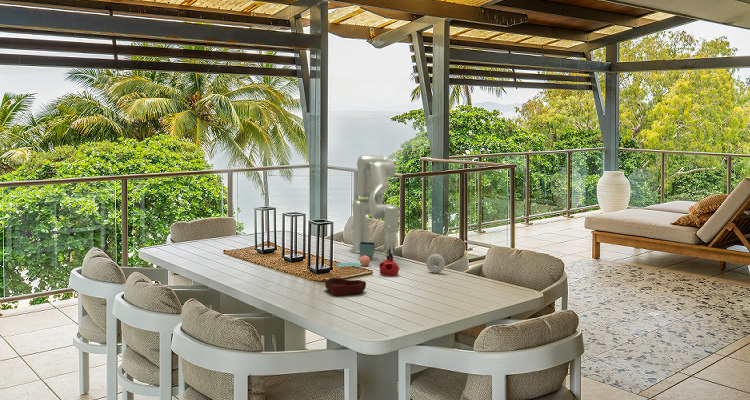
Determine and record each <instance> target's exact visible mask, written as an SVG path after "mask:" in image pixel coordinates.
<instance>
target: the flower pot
mask: <svg viewBox="0 0 750 400" xmlns="http://www.w3.org/2000/svg"><path fill="white" fill-rule="evenodd" d="M359 249H360V253H359V255H360V258H361V257H362V256H365V255H366V256H368V257H369V258H370V261H371V260H372V258H374V254H375V249H376V241H375V242H373V241H372V242H371V241H369V242H360V244H359Z"/></svg>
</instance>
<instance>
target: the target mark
mask: <svg viewBox="0 0 750 400" xmlns="http://www.w3.org/2000/svg"><path fill="white" fill-rule="evenodd" d="M360 264H361V263H360V262H336V265H337V268H338V267H342V266H343V267H344V266H355V267H359V268H360V269H362V266H361V265H360ZM359 268H358V269H359Z"/></svg>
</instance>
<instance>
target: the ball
mask: <svg viewBox="0 0 750 400" xmlns="http://www.w3.org/2000/svg"><path fill="white" fill-rule="evenodd" d="M370 263H371V260H370V258H369V257H368V256H366V255H365V256H362V257H361V256H360V259H359V264H361V265H362V266H363V267H366V266H368V265H369V264H370Z"/></svg>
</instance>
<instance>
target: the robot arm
mask: <svg viewBox="0 0 750 400" xmlns="http://www.w3.org/2000/svg"><path fill="white" fill-rule="evenodd" d="M356 161H357V162H356V166H357V172H358V174H357V175H358V176H357V186H356V195H357V196H358V197H360V198H358V199H355V200H354V201H352V204H351V206H352V217H353V218H352V219H353V222H352V223H353V226H352V247H351V248H350V249H349V251H350V252H351V253H354V254H360V249H359V244H360V242H370V241H369V240H370V220H369V219H368V217H367V216H371V217H372V218H373V219H383V224H384V225H383V232H384V243H383V249H384V250H385V251H386V259H387V260H388V261H389V257H391V261H392V260H394V252H395V251H396V245H397V243H396V241H397V239H396V238H397V233H398V232H399V214H400V213H399V212H400V210H399V207H398V206H395V205H394V204H391V203H390V204H385V203H383V200H384V199H383V198H384V193H385V192H386V191H388V189H389V187H390V185H389V181H388V177H390V178H391V177H394V176H395V175H396V171H397V168H396V165H395V164H394V162H393V160H391V159H390V158H389V157H388V156H386V155H376V154H375V155H374V154H371V155H370V154H369V155H367V154H364V155H360V156H359V157H358V158H357V160H356ZM387 260H386V261H387Z"/></svg>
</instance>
